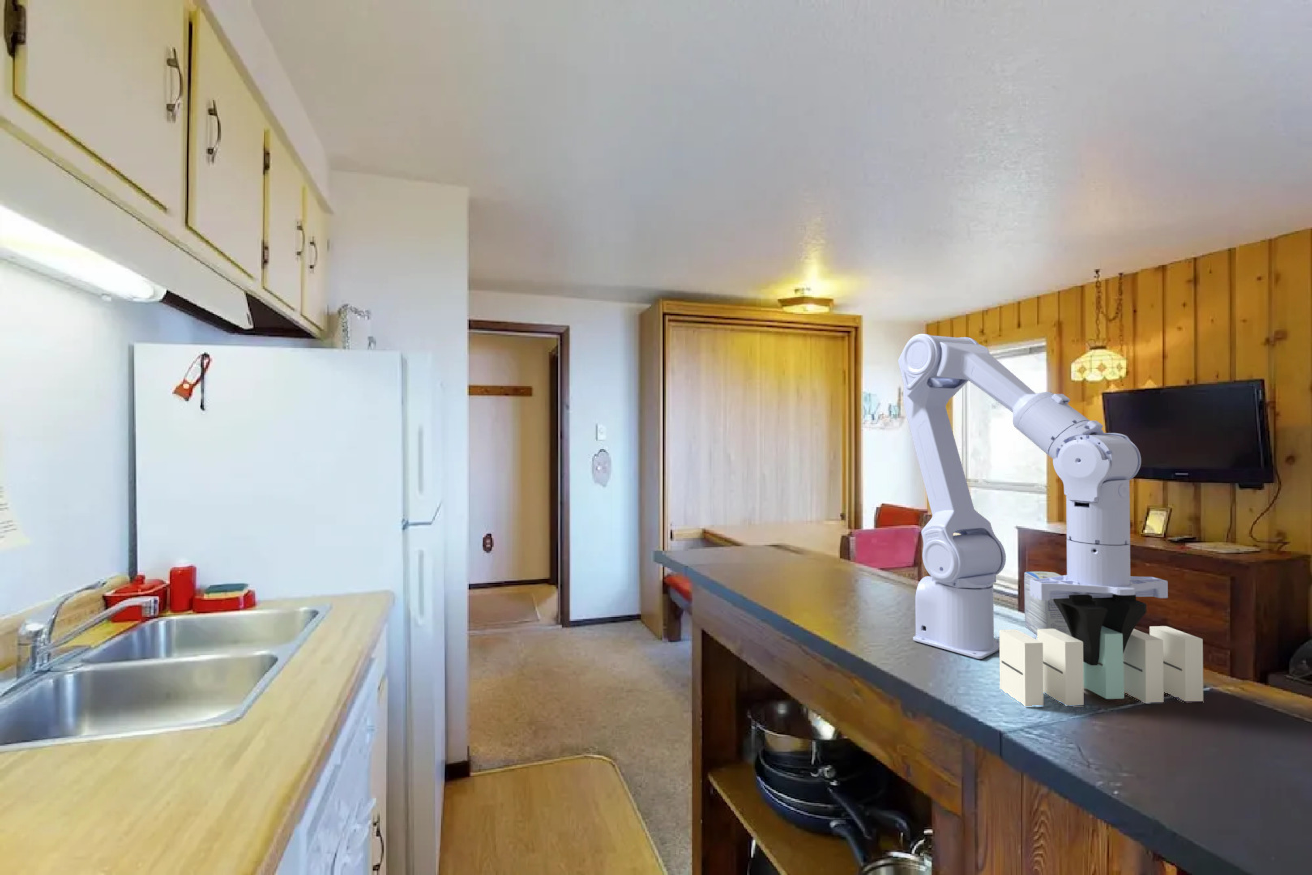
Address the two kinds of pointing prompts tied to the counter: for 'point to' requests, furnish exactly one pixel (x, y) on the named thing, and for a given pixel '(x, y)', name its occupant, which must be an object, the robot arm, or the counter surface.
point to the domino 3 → (1107, 667)
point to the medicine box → (1042, 608)
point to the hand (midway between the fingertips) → (1098, 661)
